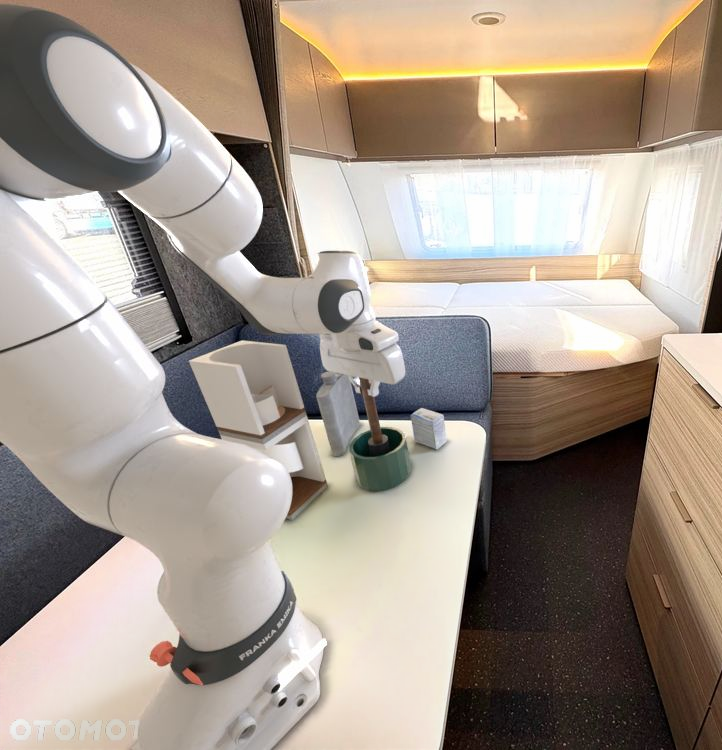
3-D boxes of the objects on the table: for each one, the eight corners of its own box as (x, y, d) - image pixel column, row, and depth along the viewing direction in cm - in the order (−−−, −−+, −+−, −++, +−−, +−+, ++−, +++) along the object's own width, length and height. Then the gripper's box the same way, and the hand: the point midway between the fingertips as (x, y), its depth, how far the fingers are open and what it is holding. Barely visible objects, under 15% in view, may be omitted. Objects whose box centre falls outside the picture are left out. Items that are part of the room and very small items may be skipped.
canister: (387, 497, 85) (380, 465, 81) (345, 482, 90) (336, 450, 86) (421, 464, 95) (416, 433, 91) (382, 452, 100) (376, 422, 96)
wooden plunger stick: (382, 465, 88) (363, 379, 79) (367, 460, 90) (348, 375, 80) (394, 454, 92) (378, 370, 82) (380, 449, 93) (363, 367, 84)
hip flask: (342, 456, 99) (324, 387, 91) (327, 456, 99) (307, 388, 91) (361, 422, 114) (347, 360, 105) (348, 423, 114) (332, 361, 105)
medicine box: (447, 442, 103) (444, 414, 99) (436, 450, 100) (432, 422, 96) (425, 433, 107) (421, 406, 103) (414, 442, 104) (409, 414, 100)
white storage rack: (251, 508, 83) (188, 360, 68) (289, 477, 92) (241, 340, 77) (292, 520, 80) (235, 367, 65) (327, 486, 89) (285, 344, 74)
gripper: (305, 332, 79) (322, 391, 85) (382, 345, 71) (394, 409, 77) (330, 323, 84) (343, 379, 90) (404, 334, 76) (414, 395, 82)
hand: (367, 393), depth 83 cm, fingers closed on wooden plunger stick, 2 cm apart
